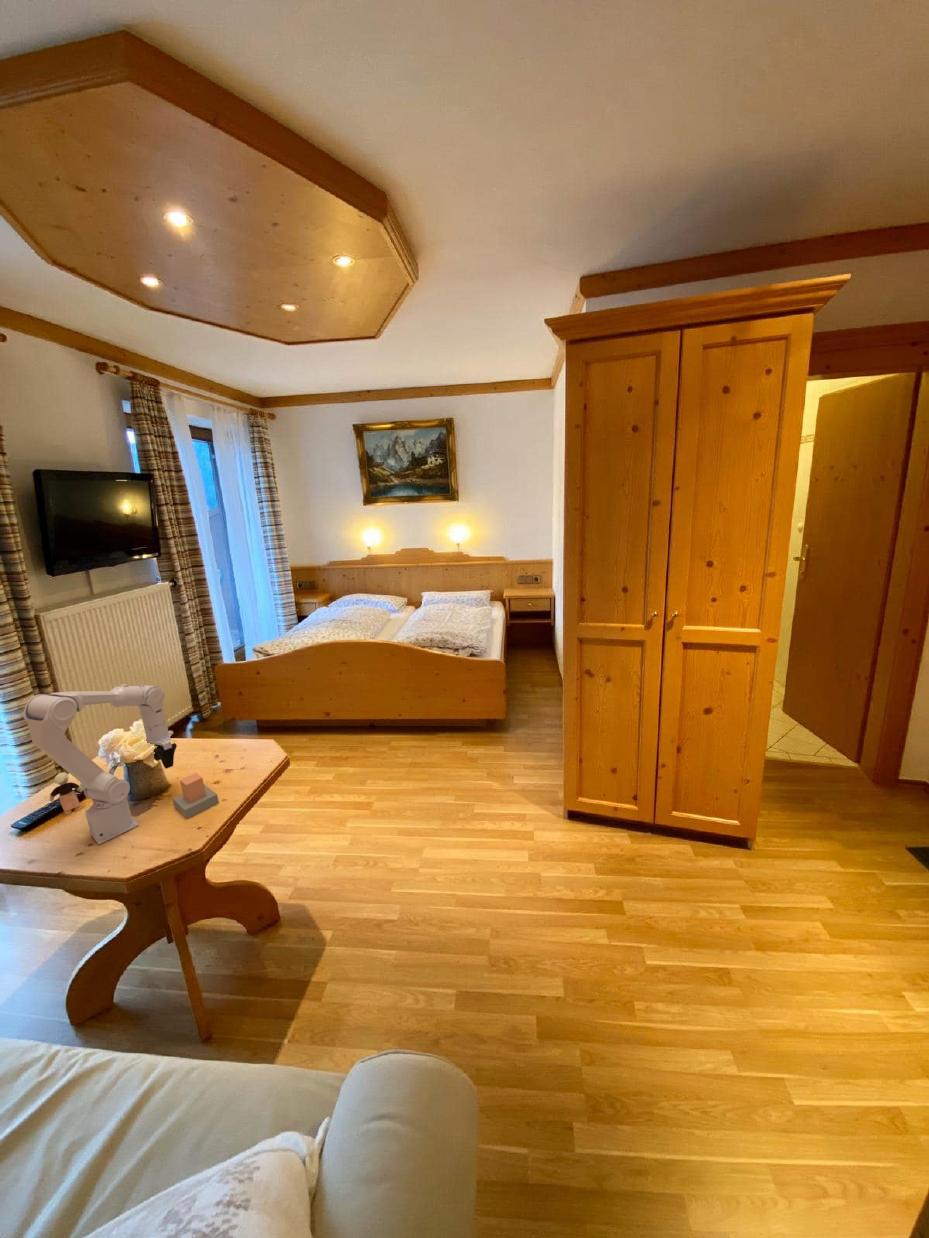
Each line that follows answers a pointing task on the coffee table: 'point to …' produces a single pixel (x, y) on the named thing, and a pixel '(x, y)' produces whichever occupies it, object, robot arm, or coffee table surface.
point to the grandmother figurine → (66, 793)
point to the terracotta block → (193, 787)
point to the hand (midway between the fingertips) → (164, 763)
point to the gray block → (195, 803)
